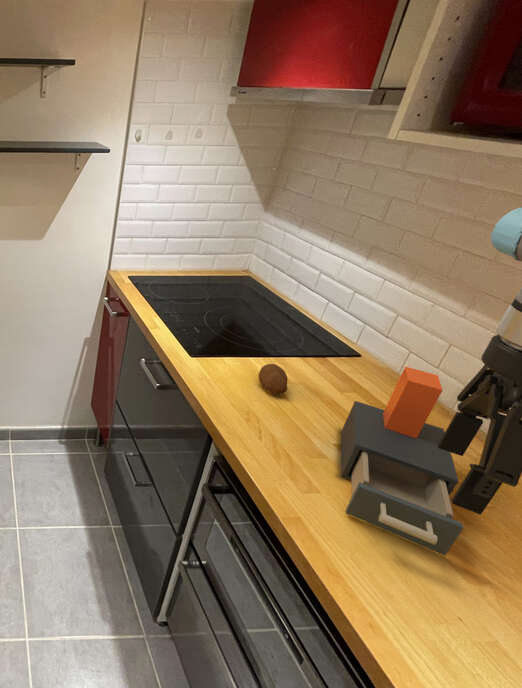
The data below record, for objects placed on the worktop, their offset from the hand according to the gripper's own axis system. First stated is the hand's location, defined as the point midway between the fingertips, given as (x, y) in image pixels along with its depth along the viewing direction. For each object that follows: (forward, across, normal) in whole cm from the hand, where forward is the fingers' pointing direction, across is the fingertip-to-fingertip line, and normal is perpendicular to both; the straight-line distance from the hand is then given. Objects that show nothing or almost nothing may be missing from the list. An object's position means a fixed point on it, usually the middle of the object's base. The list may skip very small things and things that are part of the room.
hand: (457, 477), depth 63 cm
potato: (+23, +46, +23) cm, 56 cm away
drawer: (+22, +15, 0) cm, 26 cm away
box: (+14, +33, 0) cm, 36 cm away
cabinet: (+23, +29, 0) cm, 37 cm away
